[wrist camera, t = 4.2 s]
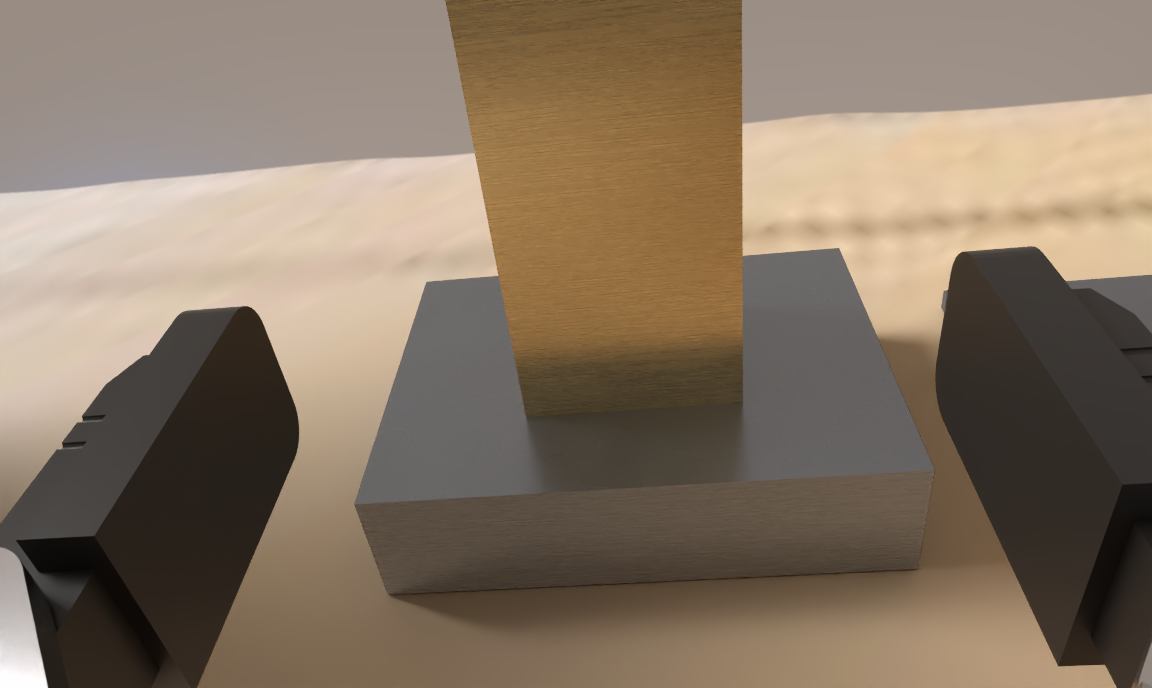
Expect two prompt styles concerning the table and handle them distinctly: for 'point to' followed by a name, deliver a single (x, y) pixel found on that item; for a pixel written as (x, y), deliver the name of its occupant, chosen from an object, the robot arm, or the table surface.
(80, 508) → the robot arm
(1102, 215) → the table surface
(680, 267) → the tall wooden pillar
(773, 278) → the grey metal rectangular block
